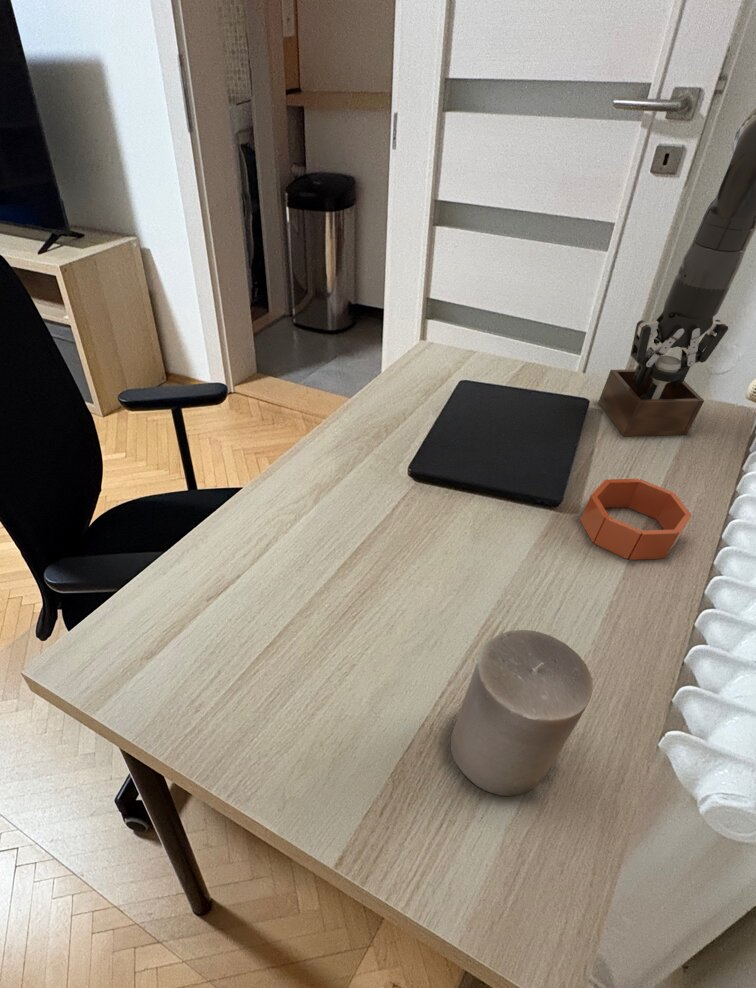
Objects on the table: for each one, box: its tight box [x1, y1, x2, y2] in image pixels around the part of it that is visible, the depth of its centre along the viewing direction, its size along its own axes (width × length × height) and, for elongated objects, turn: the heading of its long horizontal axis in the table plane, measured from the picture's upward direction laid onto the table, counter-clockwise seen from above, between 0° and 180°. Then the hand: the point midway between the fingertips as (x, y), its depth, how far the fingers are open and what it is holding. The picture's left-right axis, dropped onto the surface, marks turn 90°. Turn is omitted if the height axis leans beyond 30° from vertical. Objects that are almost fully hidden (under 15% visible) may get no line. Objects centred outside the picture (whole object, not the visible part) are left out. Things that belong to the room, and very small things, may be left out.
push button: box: [640, 354, 684, 400], centre depth 103 cm, size 7×5×10 cm
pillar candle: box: [450, 629, 594, 797], centre depth 57 cm, size 10×10×15 cm
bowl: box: [580, 478, 693, 561], centre depth 85 cm, size 12×12×4 cm
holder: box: [597, 368, 705, 437], centre depth 105 cm, size 11×11×6 cm
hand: (655, 384), depth 103 cm, fingers closed on push button, 5 cm apart
